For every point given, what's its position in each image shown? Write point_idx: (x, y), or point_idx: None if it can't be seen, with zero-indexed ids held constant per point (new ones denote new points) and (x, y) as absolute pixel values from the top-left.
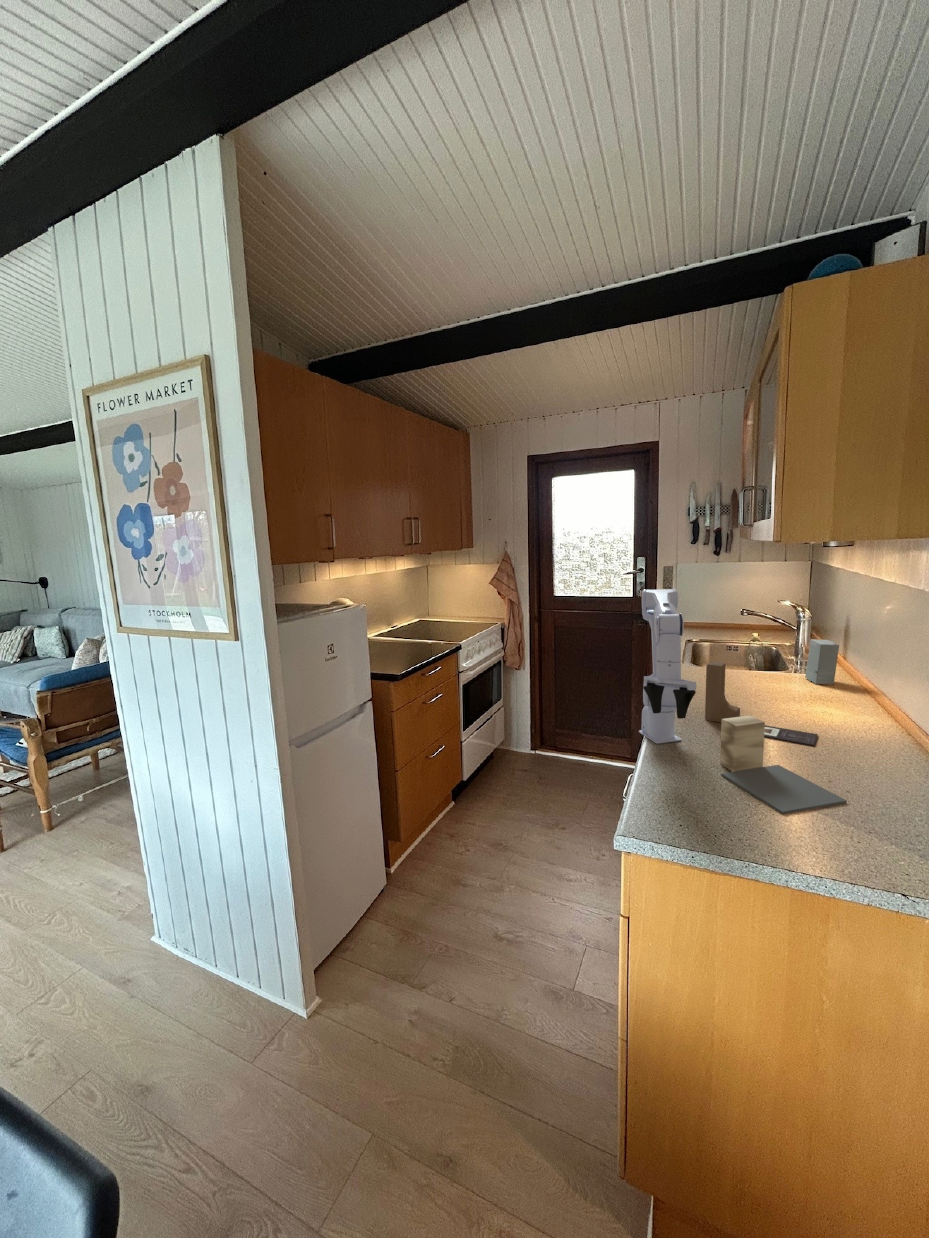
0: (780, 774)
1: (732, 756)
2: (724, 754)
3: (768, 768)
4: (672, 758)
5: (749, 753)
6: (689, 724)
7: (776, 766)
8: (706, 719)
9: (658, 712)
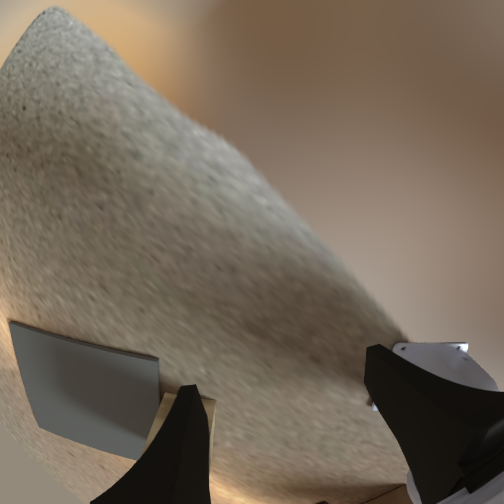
0: (125, 440)
1: (164, 419)
2: None
3: None
4: (300, 324)
5: None
6: None
7: None
8: (403, 485)
9: (365, 372)
